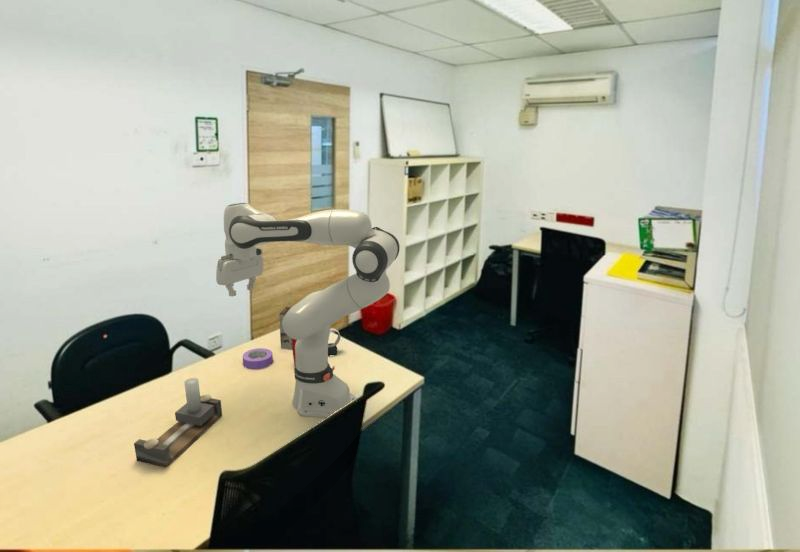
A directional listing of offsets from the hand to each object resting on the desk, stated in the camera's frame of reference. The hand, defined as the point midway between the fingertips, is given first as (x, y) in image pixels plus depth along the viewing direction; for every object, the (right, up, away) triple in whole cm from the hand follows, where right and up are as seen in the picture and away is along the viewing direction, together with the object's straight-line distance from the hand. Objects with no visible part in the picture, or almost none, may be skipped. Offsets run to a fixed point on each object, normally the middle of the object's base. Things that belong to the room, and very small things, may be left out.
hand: (241, 292), depth 156 cm
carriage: (-12, -40, -7) cm, 42 cm away
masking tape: (-5, -30, +34) cm, 45 cm away
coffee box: (+5, -25, +50) cm, 56 cm away
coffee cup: (+13, -31, +32) cm, 47 cm away
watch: (+24, -28, +44) cm, 57 cm away
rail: (-14, -44, -13) cm, 48 cm away
